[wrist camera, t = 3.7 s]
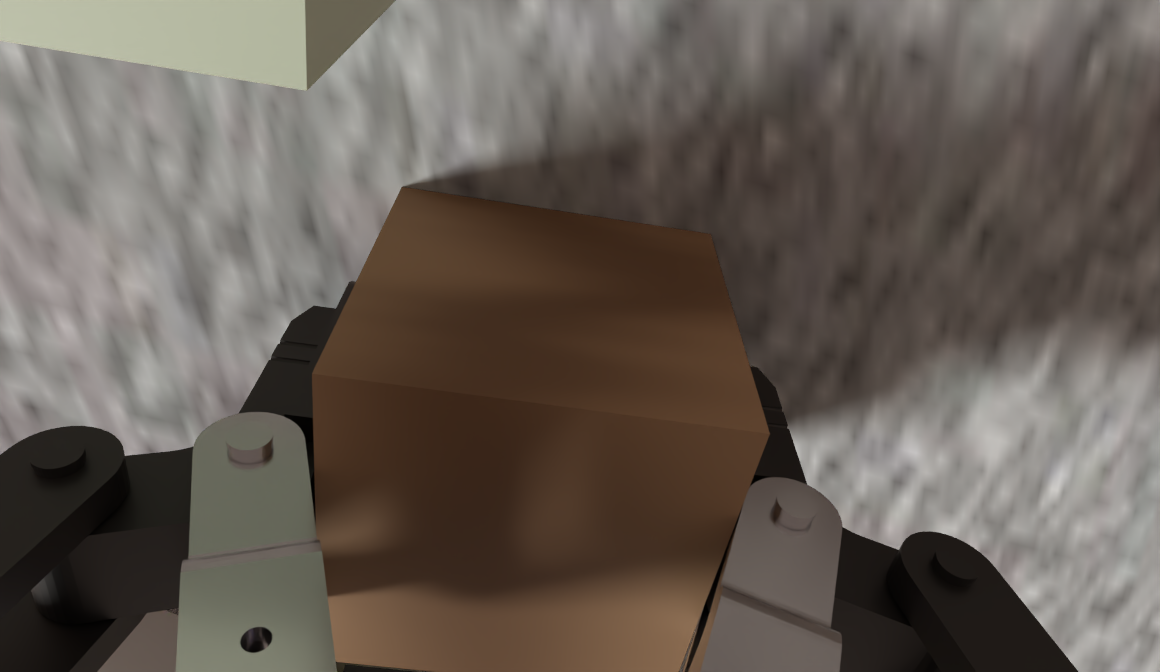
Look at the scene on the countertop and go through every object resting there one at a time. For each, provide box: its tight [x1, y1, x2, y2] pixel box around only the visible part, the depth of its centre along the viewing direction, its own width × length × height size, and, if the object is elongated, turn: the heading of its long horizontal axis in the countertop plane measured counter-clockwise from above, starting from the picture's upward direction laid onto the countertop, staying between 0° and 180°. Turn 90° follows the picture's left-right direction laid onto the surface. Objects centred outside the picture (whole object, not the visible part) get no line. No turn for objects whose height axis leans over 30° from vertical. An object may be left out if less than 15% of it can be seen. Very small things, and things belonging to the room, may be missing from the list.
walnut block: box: [312, 187, 770, 672], centre depth 12 cm, size 5×5×5 cm
